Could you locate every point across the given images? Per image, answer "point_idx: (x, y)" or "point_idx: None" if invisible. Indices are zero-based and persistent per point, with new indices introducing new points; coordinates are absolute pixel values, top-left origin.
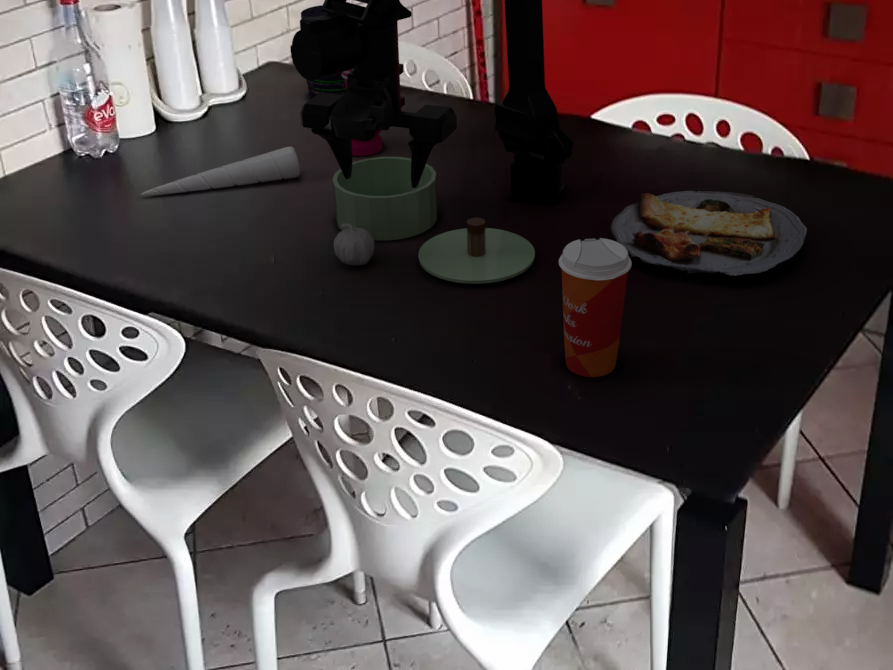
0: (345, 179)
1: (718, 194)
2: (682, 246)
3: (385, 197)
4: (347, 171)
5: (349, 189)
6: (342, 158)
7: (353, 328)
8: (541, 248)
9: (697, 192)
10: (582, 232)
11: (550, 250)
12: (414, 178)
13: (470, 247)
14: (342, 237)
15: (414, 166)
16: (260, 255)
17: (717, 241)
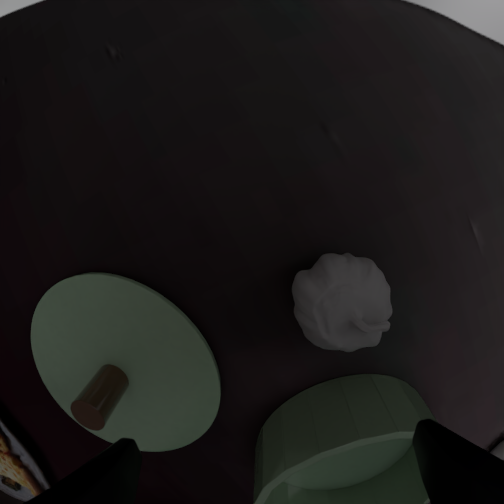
0: None
1: (19, 497)
2: None
3: (322, 452)
4: (430, 441)
5: None
6: (471, 470)
7: (194, 43)
8: (72, 418)
9: None
10: (66, 456)
11: (61, 415)
12: (99, 459)
13: (106, 374)
14: (367, 285)
15: (68, 493)
16: (496, 239)
17: None
